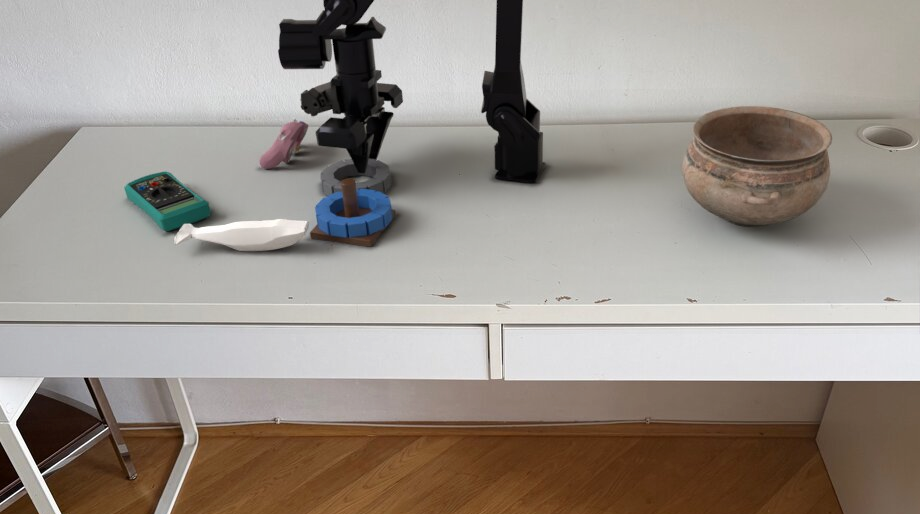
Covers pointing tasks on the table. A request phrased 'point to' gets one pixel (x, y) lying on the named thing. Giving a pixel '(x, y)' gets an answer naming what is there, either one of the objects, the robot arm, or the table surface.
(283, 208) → the table surface
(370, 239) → the peg stand
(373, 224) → the blue ring
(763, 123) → the cooking pot
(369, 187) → the grey ring
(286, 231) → the toy fish
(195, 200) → the digital multimeter
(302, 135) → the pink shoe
